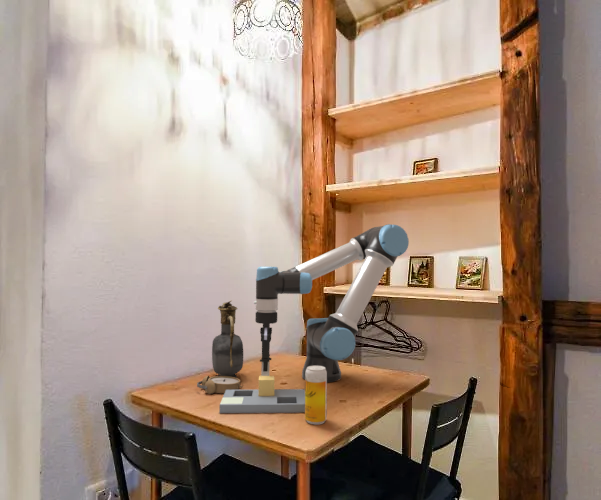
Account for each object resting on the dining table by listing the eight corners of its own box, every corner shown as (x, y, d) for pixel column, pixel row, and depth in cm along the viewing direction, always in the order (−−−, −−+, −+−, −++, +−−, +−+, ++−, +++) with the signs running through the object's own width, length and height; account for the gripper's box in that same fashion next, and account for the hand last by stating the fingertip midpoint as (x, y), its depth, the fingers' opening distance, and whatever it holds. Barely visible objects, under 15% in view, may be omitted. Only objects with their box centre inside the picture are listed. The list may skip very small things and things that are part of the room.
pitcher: (237, 372, 172) (238, 298, 173) (246, 385, 154) (247, 302, 155) (210, 374, 168) (211, 298, 169) (216, 387, 150) (217, 303, 151)
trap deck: (304, 396, 141) (304, 389, 142) (307, 412, 126) (307, 404, 127) (225, 396, 140) (226, 389, 140) (219, 413, 125) (219, 405, 125)
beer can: (304, 417, 122) (304, 365, 123) (324, 417, 123) (325, 365, 123) (306, 425, 116) (306, 370, 117) (327, 425, 117) (328, 370, 117)
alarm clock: (244, 383, 146) (201, 380, 140) (242, 398, 146) (198, 395, 140) (236, 375, 156) (196, 372, 151) (233, 389, 156) (193, 386, 150)
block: (274, 391, 139) (274, 375, 139) (274, 395, 134) (274, 379, 134) (259, 391, 139) (259, 375, 139) (258, 396, 134) (258, 380, 134)
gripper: (256, 308, 152) (255, 375, 152) (254, 313, 139) (253, 385, 139) (277, 309, 153) (276, 375, 152) (277, 313, 140) (276, 385, 139)
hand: (265, 380), depth 145 cm, fingers closed
